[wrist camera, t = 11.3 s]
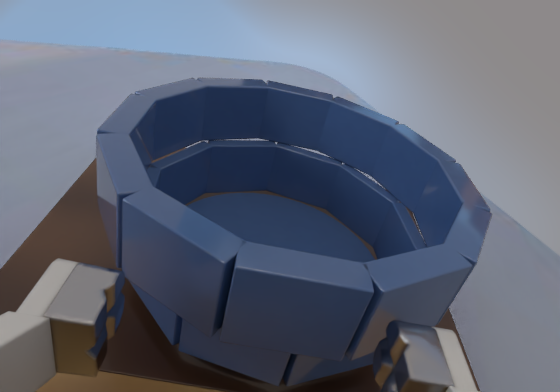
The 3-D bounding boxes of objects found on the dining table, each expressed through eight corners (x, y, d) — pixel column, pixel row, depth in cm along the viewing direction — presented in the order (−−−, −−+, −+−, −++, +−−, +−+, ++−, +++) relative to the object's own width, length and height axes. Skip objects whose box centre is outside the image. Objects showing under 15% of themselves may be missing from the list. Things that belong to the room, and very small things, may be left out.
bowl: (24, 271, 16) (0, 122, 12) (237, 159, 26) (255, 62, 23) (341, 524, 11) (435, 395, 8) (447, 268, 21) (508, 165, 18)
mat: (491, 441, 14) (497, 435, 14) (-62, 351, 13) (-64, 343, 13) (402, 198, 27) (405, 193, 27) (116, 139, 26) (116, 133, 25)
